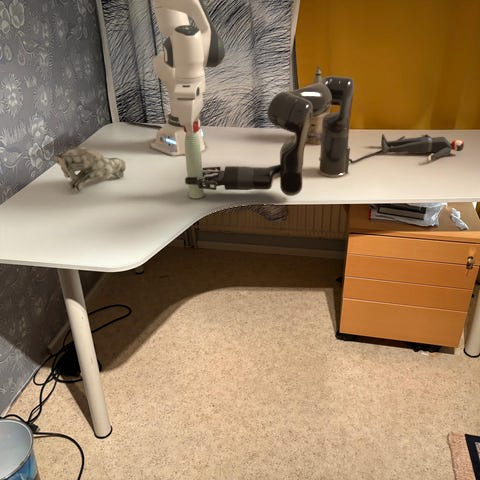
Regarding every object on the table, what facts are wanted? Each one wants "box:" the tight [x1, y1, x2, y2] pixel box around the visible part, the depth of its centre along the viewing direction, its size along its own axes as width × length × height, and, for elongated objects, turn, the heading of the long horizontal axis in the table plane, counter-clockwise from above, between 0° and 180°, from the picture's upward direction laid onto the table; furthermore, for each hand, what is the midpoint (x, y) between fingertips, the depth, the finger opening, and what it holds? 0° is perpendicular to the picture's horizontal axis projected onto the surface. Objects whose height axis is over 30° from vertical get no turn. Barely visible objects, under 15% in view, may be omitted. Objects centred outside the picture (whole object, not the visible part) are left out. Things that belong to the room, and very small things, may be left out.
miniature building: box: [306, 65, 333, 145], centre depth 213 cm, size 13×14×30 cm
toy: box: [380, 133, 465, 162], centre depth 205 cm, size 26×6×30 cm
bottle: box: [184, 132, 205, 199], centre depth 169 cm, size 5×5×23 cm
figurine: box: [54, 146, 127, 193], centre depth 180 cm, size 10×19×20 cm
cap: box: [183, 122, 199, 133], centre depth 164 cm, size 5×5×2 cm
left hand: (193, 131), depth 164 cm, fingers open, 7 cm apart
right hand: (187, 177), depth 172 cm, fingers closed on bottle, 5 cm apart
